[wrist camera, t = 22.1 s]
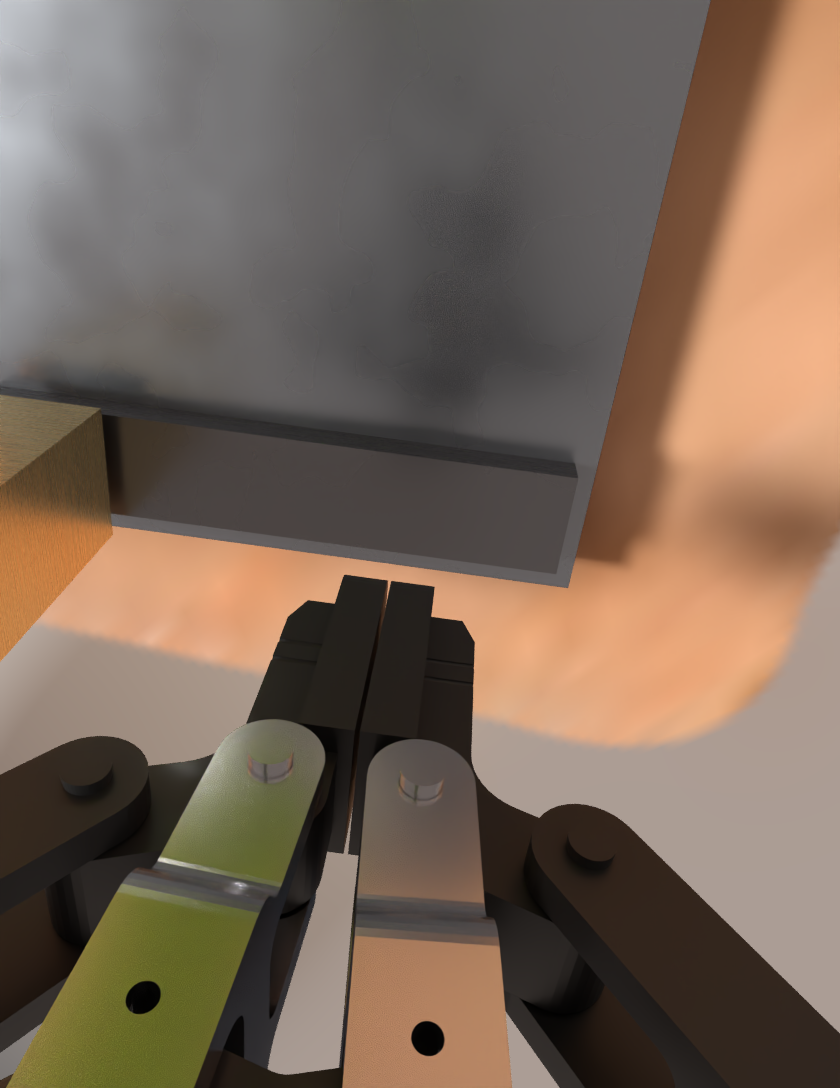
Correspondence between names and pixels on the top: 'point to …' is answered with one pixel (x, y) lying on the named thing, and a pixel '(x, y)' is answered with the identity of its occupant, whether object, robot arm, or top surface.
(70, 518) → the press lever
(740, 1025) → the robot arm
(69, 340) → the plate
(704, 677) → the top surface
